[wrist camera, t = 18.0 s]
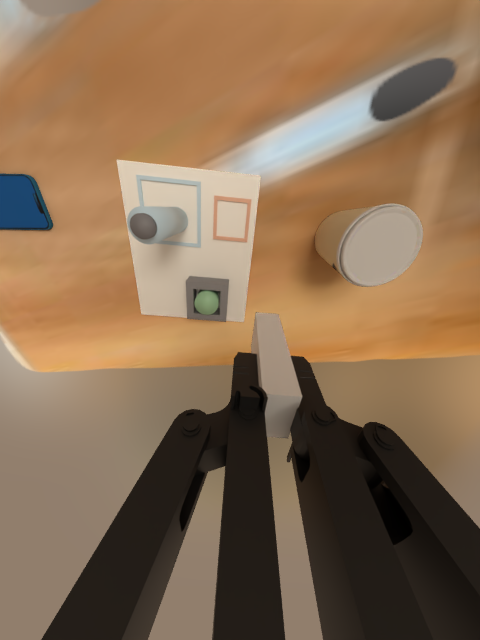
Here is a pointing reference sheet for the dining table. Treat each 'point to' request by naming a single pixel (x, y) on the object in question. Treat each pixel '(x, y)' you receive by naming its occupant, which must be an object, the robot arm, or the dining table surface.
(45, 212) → the smartphone
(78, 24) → the dining table surface
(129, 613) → the robot arm
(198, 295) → the button
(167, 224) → the marker
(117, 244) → the dining table surface
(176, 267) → the board
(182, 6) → the dining table surface
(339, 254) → the coffee cup
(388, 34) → the dining table surface
